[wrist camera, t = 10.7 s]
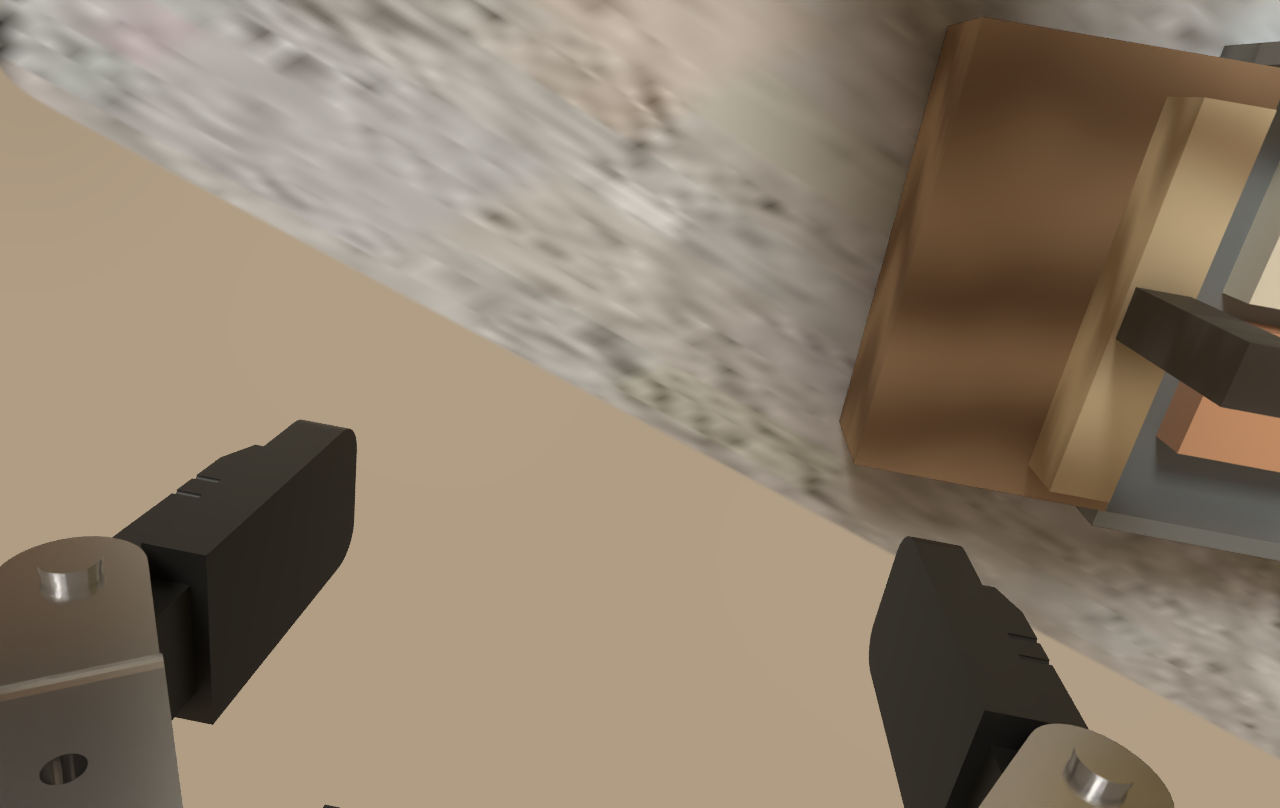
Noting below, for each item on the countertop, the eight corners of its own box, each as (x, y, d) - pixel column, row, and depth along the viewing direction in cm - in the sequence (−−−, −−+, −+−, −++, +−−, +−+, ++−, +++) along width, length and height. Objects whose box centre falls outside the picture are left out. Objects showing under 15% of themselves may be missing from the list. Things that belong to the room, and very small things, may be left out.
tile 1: (1377, 352, 35) (1344, 338, 37) (1234, 326, 35) (1208, 314, 37) (1311, 478, 37) (1283, 459, 39) (1177, 453, 37) (1155, 435, 39)
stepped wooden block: (947, 26, 34) (983, 16, 30) (1214, 72, 34) (1292, 70, 29) (839, 421, 41) (854, 464, 36) (1061, 462, 40) (1105, 511, 36)
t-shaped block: (1167, 96, 30) (1352, 101, 21) (1233, 108, 30) (1448, 117, 21) (1028, 464, 35) (1129, 590, 27) (1084, 475, 35) (1203, 604, 27)
